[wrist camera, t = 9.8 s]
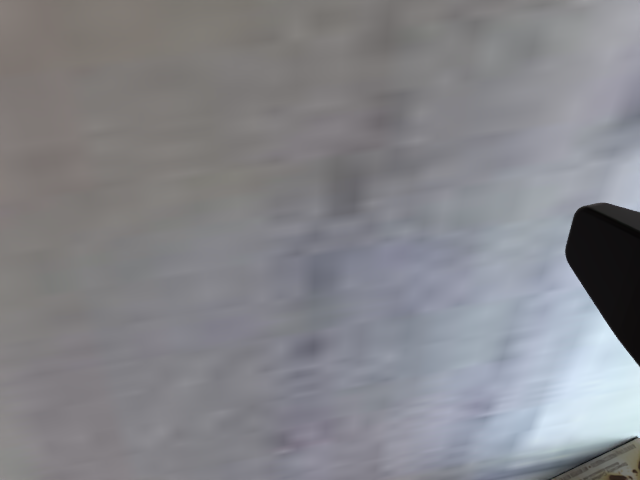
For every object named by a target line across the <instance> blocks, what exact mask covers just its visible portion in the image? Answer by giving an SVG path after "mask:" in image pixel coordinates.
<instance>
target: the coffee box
mask: <svg viewBox="0 0 640 480" xmlns="http://www.w3.org/2000/svg"><path fill="white" fill-rule="evenodd" d="M551 480H640V438H637V439H635V440H633V441H631V442H629V443H626V444H624V445H622V446H620V447H618V448H616V449H614V450H612V451H610V452H607V453H605V454H603V455H601V456H599V457H597V458H595V459H593V460H591V461H589V462H586V463H584V464H582V465H580V466H578V467H576V468H574V469H572V470H570V471H567V472H565V473H563V474H561V475H559V476H557V477H555V478H553V479H551Z"/></svg>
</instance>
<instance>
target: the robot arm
mask: <svg viewBox="0 0 640 480" xmlns="http://www.w3.org/2000/svg"><path fill="white" fill-rule="evenodd" d="M565 254H566V259H567V261H568V263H569V265H570V267H571V268H572V270H573V271H574V273H575V274H576V276H577V278H578V279H579V281H580V282H581V284H582V285H583V287H584V288H585V290H586V291H587V293H588V294H589V296H590V298H591V299H592V301H593V302H594V304H595V305H596V307H597V308H598V310H599V311H600V313H601V315H602V316H603V318H604V319H605V321H606V322H607V324H608V325H609V327H610V328H611V330H612V331H613V333H614V334H615V335H616V337H617V338H618V340H619V341H620V342H621V344H622V345H623V346H624V348H625V349H626V350H627V351H628V353H629V354H630V355H631V356H632V358H633V359H634V360H635V361H636V363H637V364H638V365H639V366H640V212H637V211H633V210H630V209H626V208H622V207H619V206H615V205H612V204H608V203H596V204H591V205H587V206H583V207H581V208H579V209H578V210H577V211H576V213H575V214H574V217H573V221H572V225H571V229H570V233H569V236H568V240H567V244H566V249H565Z"/></svg>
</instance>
